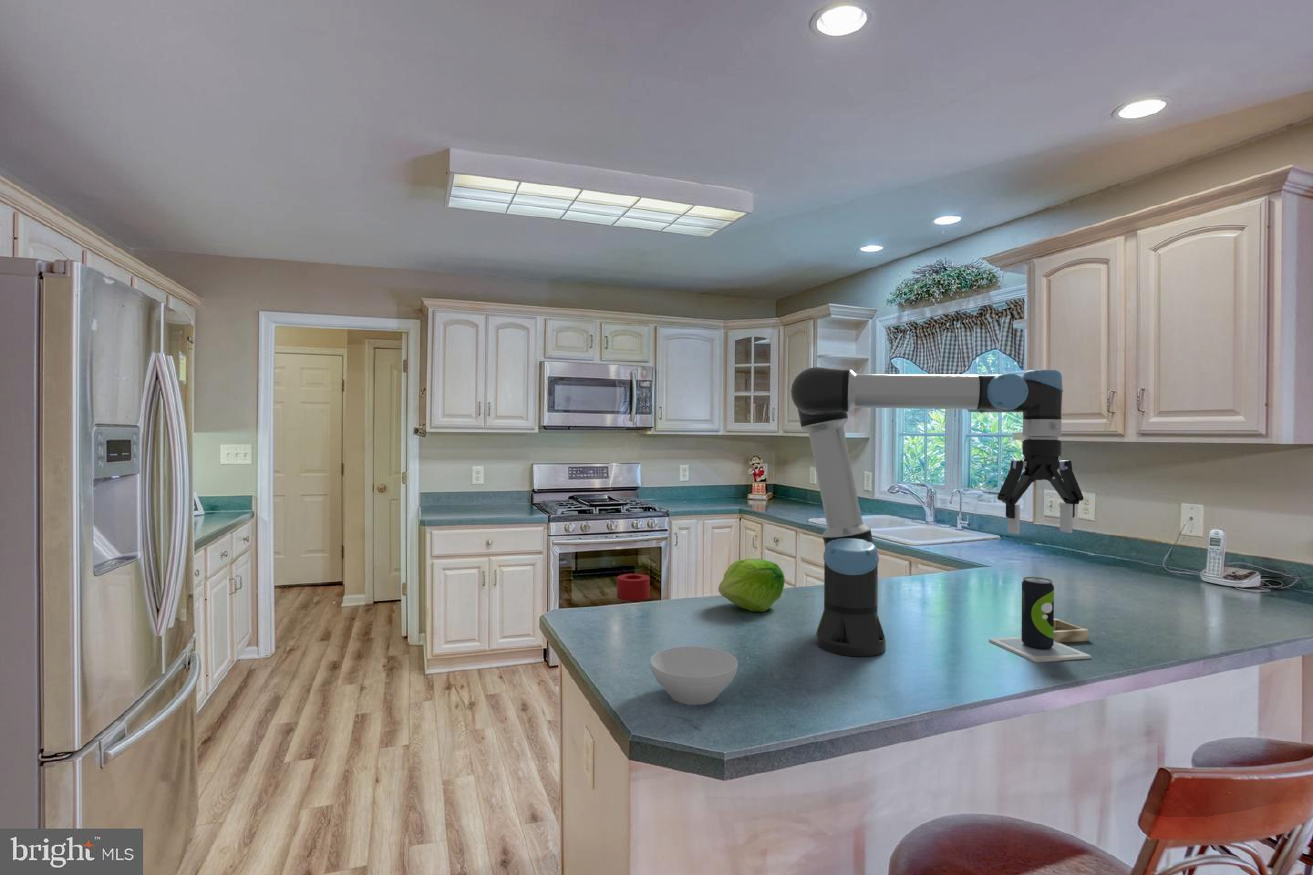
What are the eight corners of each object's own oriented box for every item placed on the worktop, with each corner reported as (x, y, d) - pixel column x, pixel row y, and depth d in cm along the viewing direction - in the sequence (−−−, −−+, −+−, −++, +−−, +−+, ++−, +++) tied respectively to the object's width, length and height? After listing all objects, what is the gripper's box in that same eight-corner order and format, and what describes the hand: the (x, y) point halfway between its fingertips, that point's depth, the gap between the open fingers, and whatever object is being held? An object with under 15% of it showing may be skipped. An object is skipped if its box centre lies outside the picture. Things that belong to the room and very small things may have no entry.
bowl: (642, 714, 109) (642, 673, 109) (656, 679, 125) (657, 643, 125) (736, 721, 107) (736, 679, 107) (738, 684, 122) (739, 648, 122)
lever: (647, 604, 180) (647, 581, 180) (614, 603, 181) (614, 580, 181) (653, 589, 198) (653, 568, 198) (623, 588, 199) (623, 567, 199)
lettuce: (705, 606, 178) (706, 557, 178) (765, 599, 186) (766, 552, 186) (733, 620, 164) (734, 568, 164) (797, 612, 173) (797, 561, 173)
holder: (1054, 642, 148) (1054, 632, 148) (1023, 630, 157) (1023, 620, 157) (1088, 640, 150) (1088, 630, 150) (1056, 628, 159) (1056, 618, 159)
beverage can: (1019, 640, 148) (1019, 575, 148) (1050, 643, 145) (1050, 577, 145) (1024, 648, 142) (1024, 581, 142) (1056, 651, 140) (1056, 583, 140)
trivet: (1034, 662, 135) (1035, 659, 135) (988, 641, 149) (988, 638, 149) (1091, 658, 138) (1091, 655, 138) (1040, 637, 152) (1040, 634, 152)
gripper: (1004, 438, 138) (1003, 536, 138) (1103, 439, 142) (1101, 534, 143) (981, 437, 145) (979, 530, 145) (1075, 439, 150) (1073, 529, 150)
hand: (1040, 532), depth 144 cm, fingers open, 13 cm apart
